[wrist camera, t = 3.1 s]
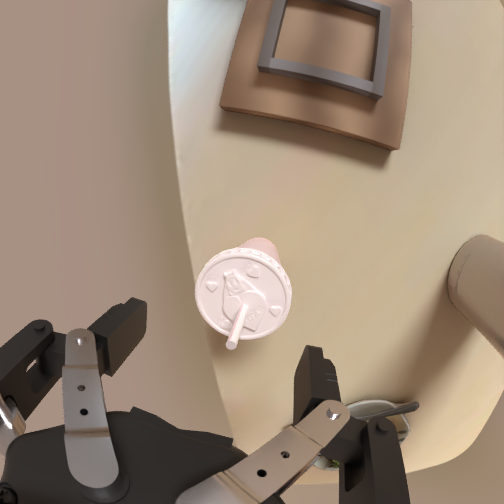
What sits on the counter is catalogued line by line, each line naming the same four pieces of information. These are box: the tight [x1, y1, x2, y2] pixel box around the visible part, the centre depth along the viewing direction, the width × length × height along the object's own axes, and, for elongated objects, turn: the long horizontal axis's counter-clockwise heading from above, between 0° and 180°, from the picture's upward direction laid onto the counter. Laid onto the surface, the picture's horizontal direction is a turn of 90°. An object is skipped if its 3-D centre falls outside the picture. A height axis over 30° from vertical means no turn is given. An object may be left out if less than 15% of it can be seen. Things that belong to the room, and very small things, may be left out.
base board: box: [219, 0, 412, 151], centre depth 19 cm, size 16×18×4 cm
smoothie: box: [195, 238, 292, 350], centre depth 20 cm, size 6×6×14 cm
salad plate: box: [313, 399, 420, 471], centre depth 30 cm, size 19×18×5 cm
